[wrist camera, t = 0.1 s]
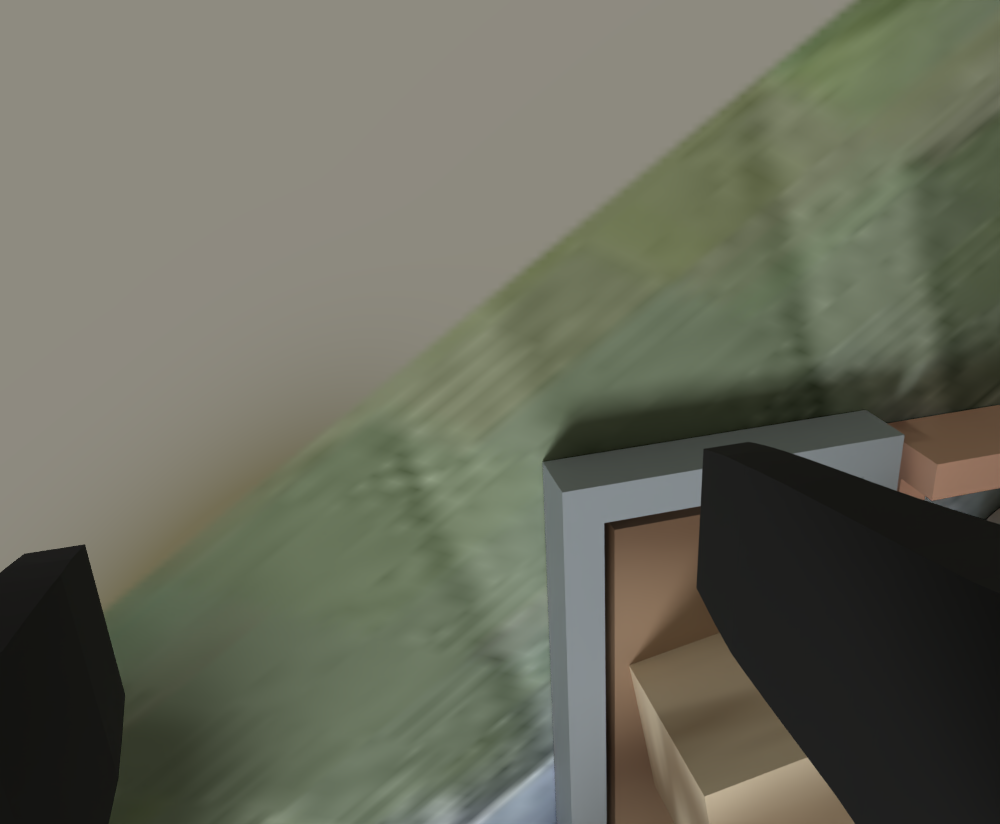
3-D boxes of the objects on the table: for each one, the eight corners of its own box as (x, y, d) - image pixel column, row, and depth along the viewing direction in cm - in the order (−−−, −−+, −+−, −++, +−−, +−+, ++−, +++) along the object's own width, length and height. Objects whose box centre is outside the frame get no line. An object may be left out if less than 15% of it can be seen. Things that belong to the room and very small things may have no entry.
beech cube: (799, 730, 26) (896, 859, 22) (654, 785, 26) (727, 927, 22) (786, 608, 24) (890, 725, 20) (629, 664, 24) (704, 796, 20)
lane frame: (1126, 830, 35) (1164, 866, 33) (562, 987, 30) (578, 1036, 29) (1278, 343, 27) (1336, 362, 25) (542, 462, 22) (562, 492, 21)
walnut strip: (769, 911, 31) (859, 1066, 27) (602, 956, 30) (666, 1128, 25) (812, 468, 24) (944, 575, 20) (598, 506, 23) (683, 629, 19)
